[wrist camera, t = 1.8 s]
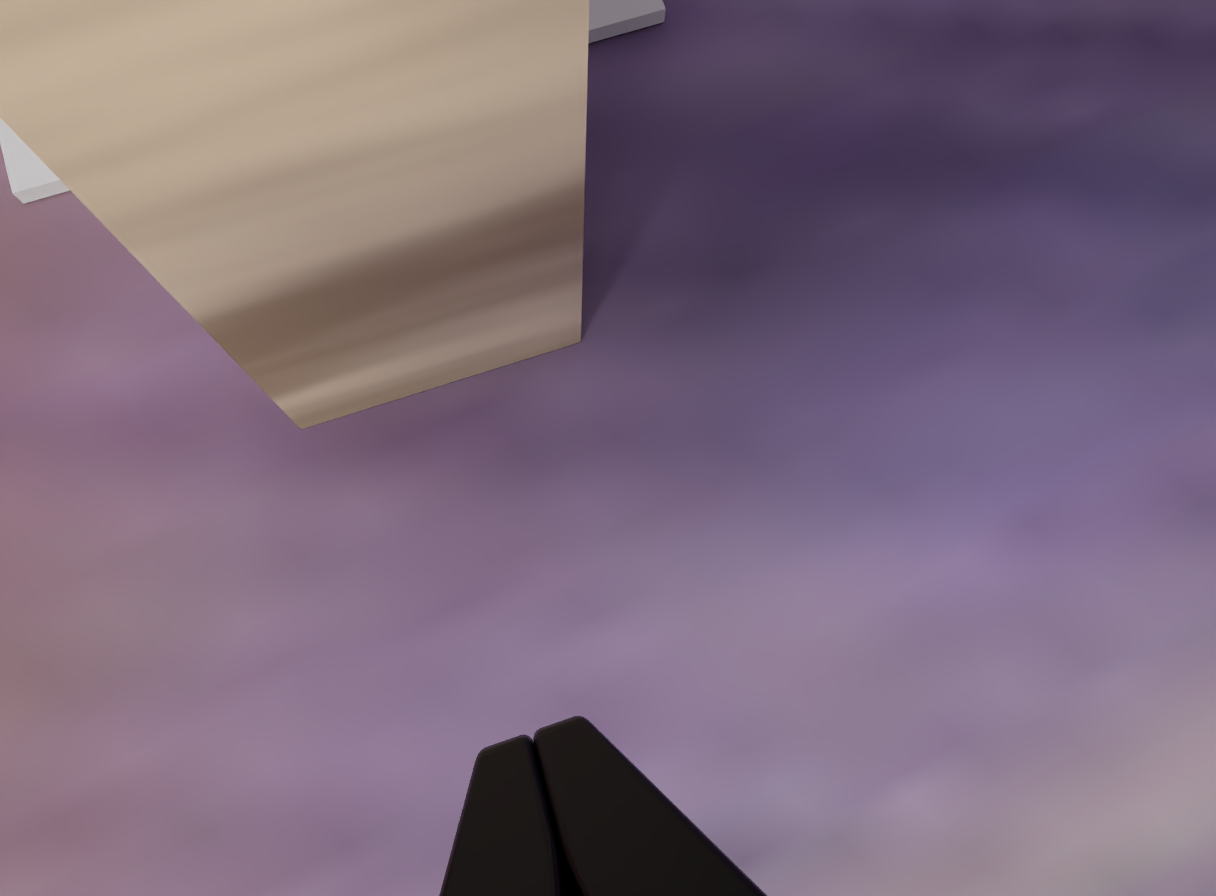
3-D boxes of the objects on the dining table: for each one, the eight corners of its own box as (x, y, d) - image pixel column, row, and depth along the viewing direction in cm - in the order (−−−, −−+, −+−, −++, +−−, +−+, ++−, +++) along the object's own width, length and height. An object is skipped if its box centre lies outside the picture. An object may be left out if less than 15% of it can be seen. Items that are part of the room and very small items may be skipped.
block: (581, 341, 19) (595, -255, 7) (300, 429, 19) (-171, -59, 7) (494, 95, 20) (385, -775, 8) (226, 171, 20) (-294, -642, 8)
